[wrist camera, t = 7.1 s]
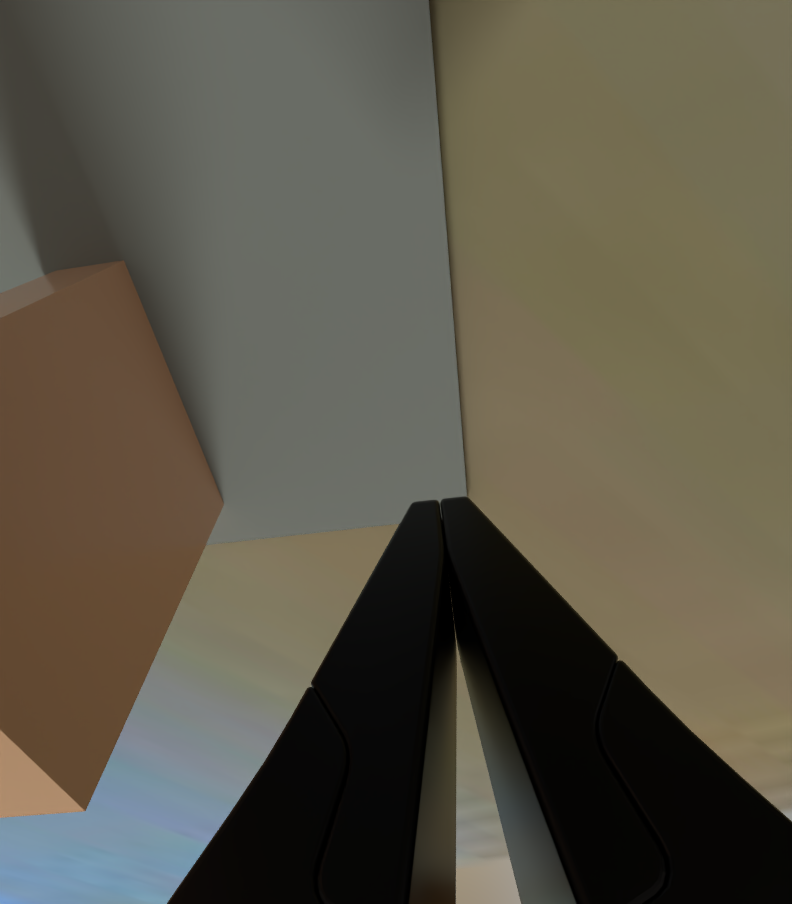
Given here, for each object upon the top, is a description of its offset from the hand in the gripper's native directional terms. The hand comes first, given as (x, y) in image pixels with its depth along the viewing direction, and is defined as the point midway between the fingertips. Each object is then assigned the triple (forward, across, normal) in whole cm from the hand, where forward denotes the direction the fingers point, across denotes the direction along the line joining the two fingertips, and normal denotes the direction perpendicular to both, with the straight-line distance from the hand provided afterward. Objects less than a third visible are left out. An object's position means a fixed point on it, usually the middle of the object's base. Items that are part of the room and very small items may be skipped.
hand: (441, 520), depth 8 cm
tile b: (+6, +7, 0) cm, 9 cm away
